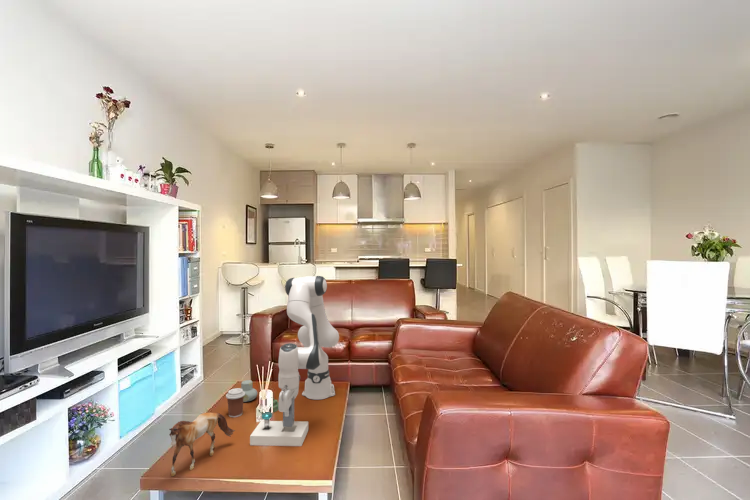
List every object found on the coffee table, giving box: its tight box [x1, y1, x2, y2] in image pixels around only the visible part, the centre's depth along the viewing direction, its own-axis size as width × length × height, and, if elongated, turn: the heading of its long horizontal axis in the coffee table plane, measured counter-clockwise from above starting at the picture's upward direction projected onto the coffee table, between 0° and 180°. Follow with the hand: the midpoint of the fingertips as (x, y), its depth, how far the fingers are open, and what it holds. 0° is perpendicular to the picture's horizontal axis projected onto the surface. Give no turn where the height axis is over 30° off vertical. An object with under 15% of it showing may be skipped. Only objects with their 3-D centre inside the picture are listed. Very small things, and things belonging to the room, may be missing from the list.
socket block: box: [249, 420, 309, 447], centre depth 170 cm, size 14×22×4 cm, turn 88°
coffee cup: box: [225, 387, 245, 418], centre depth 193 cm, size 9×9×12 cm
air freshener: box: [240, 379, 258, 403], centre depth 211 cm, size 11×8×10 cm
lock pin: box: [261, 412, 273, 430], centre depth 170 cm, size 4×4×6 cm
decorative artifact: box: [272, 397, 279, 413], centre depth 199 cm, size 10×7×10 cm
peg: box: [282, 397, 295, 427], centre depth 169 cm, size 4×4×12 cm
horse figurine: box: [169, 412, 236, 477], centre depth 152 cm, size 31×8×21 cm, turn 158°
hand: (288, 413), depth 169 cm, fingers closed on peg, 4 cm apart
